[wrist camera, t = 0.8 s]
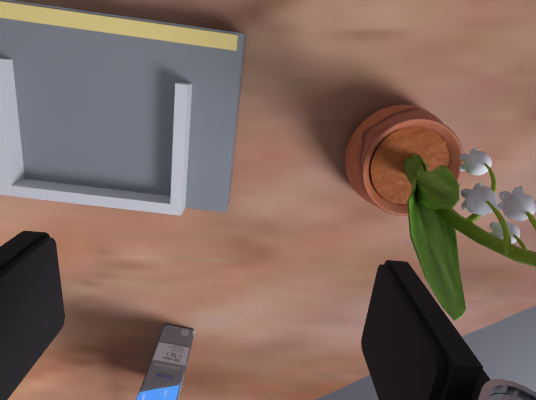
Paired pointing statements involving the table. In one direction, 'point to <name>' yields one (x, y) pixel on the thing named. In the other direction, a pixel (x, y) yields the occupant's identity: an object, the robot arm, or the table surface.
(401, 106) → the potted flower
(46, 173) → the dock
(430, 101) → the table surface
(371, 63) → the table surface
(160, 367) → the label tape cartridge
